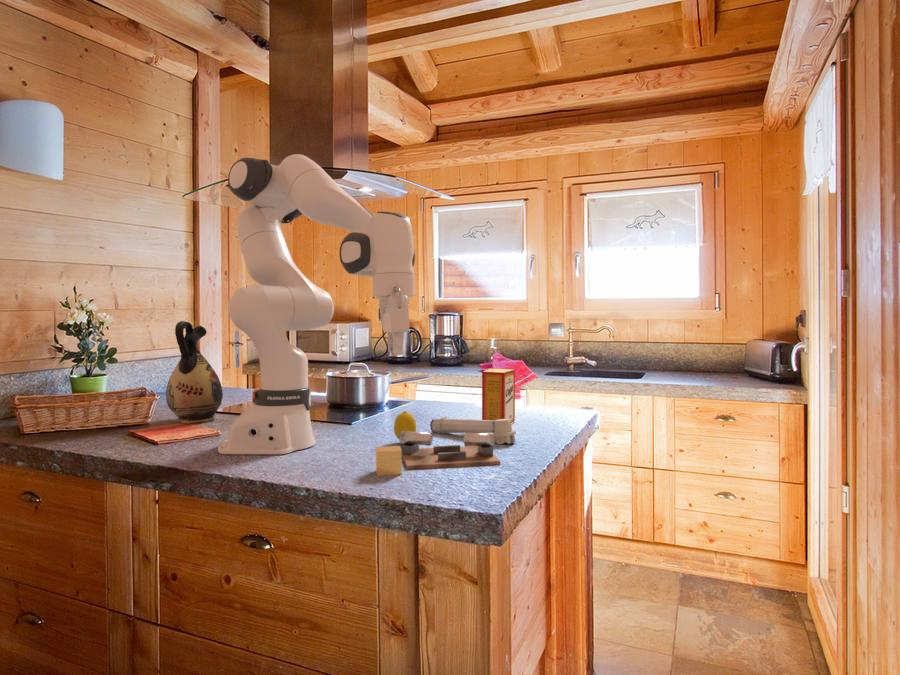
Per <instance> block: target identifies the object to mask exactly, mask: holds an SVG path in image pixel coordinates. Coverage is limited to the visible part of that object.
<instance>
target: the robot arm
mask: <svg viewBox="0 0 900 675" xmlns="http://www.w3.org/2000/svg"><path fill="white" fill-rule="evenodd" d="M227 181H228V182H227V183H228V187H229V190H230V192H231V193H232V194H233V195H234V196H235V197H237V198H238V199H240V200H241V201H244V202H248V203H250V205H249V206H248V207H246V208H244V209H243V210H241V212H239V214H238V216H237V218H236V228H237V238H238V243H239V247H240V250H241V254H242V258H243V260H244V263H245V267H246V271H247V272H248V275H249V276H250V278H251V279H252V280H253V281H254V282H256V283H258V284H257V285H256V284H255V285H249V286H244V287H240V288H239V287H238V288H237V289H236V290H235V291H234V292H233V293H232V294H231V296H230V298H229V302H228V308H227V309H228V315H229V318H230V319H231V321H232V323H233V325H234V326H235V327H236V328H238V330H241V331H242V332H243V333H244V334H245V335H246V336H247V337H248V338H249V339H250V340H251V342H252V343H253V345H254V347H255V350H256V353H257V355H258V360H259V366H260V367H259V368H260V369H259V370H260V388H259V387H257V388H255V389H253V391H252V397H251V398H252V405H251V406H249V407H248V408H246V410H244V411H243V412H242V413H240V414H239V415H238V416H237V417H236V418H235V419H233V421H232V422H231V424H230V426H229V428H228V433H227V439H225V440H223V441H221V442H220V443H219V444H218V446H217V452H218V453H219V454H220V455H286V454H289V453H292V452H294V451H301V450H304V449H308V448H311V447H313V446H315V445H316V443H317V442H316V438H315V435H314V432H313V427H312V422H311V420H312V419H311V413H310V410H311V406H312V402H311V401H312V397H311V387H310V386H309V360H308V357H307V355H306V353H305V352H304V351H303V350H302V349H300V348H299V347H297V346H294V345H292V344H291V343H290V341H289V339H288V337H287V332H288V331H289V332H291V331H294V332H295V331H312V330H317V329H319V328H323V327H326V326H328V325H329V323H330V322H331V320H332V318H333V317H334V313H335V304H334V302H333V301H334V300H333V298H332V297H331V295H330V293H329V292H328V291H326V290H325V289H323V288H321V287H320V286H318V285H316V284H314V283H313V281H311V280H310V279H309V278H308V277H307V276H306V275H304V274H303V272H302V271H301V270H300V269H299V267H297V264H296V263H295V261H294V260H293V257H292V255H291V252H290V250H289V247H288V245H287V242H286V239H285V236H284V234H283V231H282V227H281V224H290V223H292V222H293V221H294V220H295V219H296V220H297V219H298V218H300V216H302V215H304V217H306V218H308V219H309V220H311V221H314V222H315V223H319V224H323V225H327V226H333V227H336V228H340V229H343V230H346V231H349V233H348V234H347V235H346V236H345V237H344V238H343V239H342V241H341V244H340V245H339V260H340V263H341V266H342V268H343V269H344V270H345V271H346V272H347V273H348V274H350V275H353V276H357V277H358V276H359V277H360V276H361V277H370V278H371V277H372V297H373V298H376V299H377V300H378V306H379V315H380V321H381V322H380V323H381V328H382V331H383V332H385V333H387V337H386V338H387V341H388V342H387V343H388V352H389V353H390V354H393V355H394V356H403V354H404V340H405V333H409V331H410V330H409V329H410V312H409V305H410V297H412V298H413V297H415V295H416V288H415V286H416V285H415V282H416V281H415V280H416V279H415V270H414V266H415V263H416V251H415V248H414V247H415V246H414V234H413V228H412V226H413V225H412V223H411V220H410V218H409V216H407V215H405V214H404V213H399V212H398V213H397V212H392V211H391V212H390V211H377V212H374V213H372V212H371V211H370V210H368V209H367V208H366V207H365V206H363V204H361V203H359V201H357V200H356V199H355V198H354V197H352V196H351V195H350V194H349V193H348V192H347V191H345V189H343V188H342V187H341V186H340V184H338V183H337V182H336V181H335V180H334V179H333V178H332V177H331V176H330V175H329V174H328V173H327V172H326V171H325V170H324V169H323V168H322V166H320V165H319V164H318V163H317V162H315V161H314V160H312V159H311V158H309V157H308V156H306V155H304V154H300V153H298V154H297V153H296V154H295V153H294V154H290V155H288V156H286V157H285V158H283V159H282V161H281V162H280V163H279V164H278V165H274V164H271V163H270V162H269V160H268V159H261V158H260V159H259V158H255V157H241V158H240V159H238V160H237V161H235V162H234V163H233V164H232V166H231V167H230V170H229V171H228V176H227Z"/></svg>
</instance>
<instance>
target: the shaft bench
mask: <svg viewBox="0 0 900 675" xmlns="http://www.w3.org/2000/svg"><path fill="white" fill-rule="evenodd" d="M402 459H403V460H402V461H403V462H404V464H405V467H406V470H422V469H423V470H424V469H437V468H439V469H441V468H460V467H461V468H462V467H477V466H478V467H479V466H480V467H481V466H497V465H501V460H500V459H499V458H498V457H497V456H496V455H495V454H494V453H493V456H492V457H482V456H481V455H480V454H479V453H478V446H466V447H465V446H464V445H463V446H461V445H460V444H453V445H452V444H451V445H449V444H448V445H433V447H426V448H425V447H421V448H420V447H419V451H417V452H415V453H414V454H412V455H403V454H402Z"/></svg>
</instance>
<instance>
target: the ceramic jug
mask: <svg viewBox="0 0 900 675" xmlns="http://www.w3.org/2000/svg"><path fill="white" fill-rule="evenodd" d="M184 330H185V331H184ZM184 332H185V335H184ZM207 333H208V332H207V329H206V328H205V327H204V326H202V325H198V326H195V327H193V324H192V323H191V322H189V321H184V320H183V321H182V320H181V321H179V322H177V323H176V324H175V329H174V334H175V338H176V343H177V345H178V347H179V348H178V349H179V353H180V360H179V361H178V362H177V364H176V366H175V367H174V369H173V371H172V372H171V374H170V377H169V379H168V382H167V386H166V389H165V390H166V391H165V397H166V398H165V399H166V405H167V407H168V409H169V410H170V411H171V412H172V413H173V414H174V415H175V416H176V417H177V418H178V420H179V422H180V423H182V424H185V423H187V424H191V423H193V424H194V423H207V422H211V421H215V418H214V416H215V415H216V412H217V411H218V410H219V408H220V407H221V405H222V400H223V396H224V392H223V387H222V383H221V381H220V377H219V376H218V374H217V373H216V371H215V370H214V368H213V367H212V365H211V364H210V363H209V361H208V360H207V359H206V358H205V357H204V356H203V355H202V353H201V351H200V350H199V349H198V341H199V340H200V339H202V338H203V337H205V336H206V335H207Z"/></svg>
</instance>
